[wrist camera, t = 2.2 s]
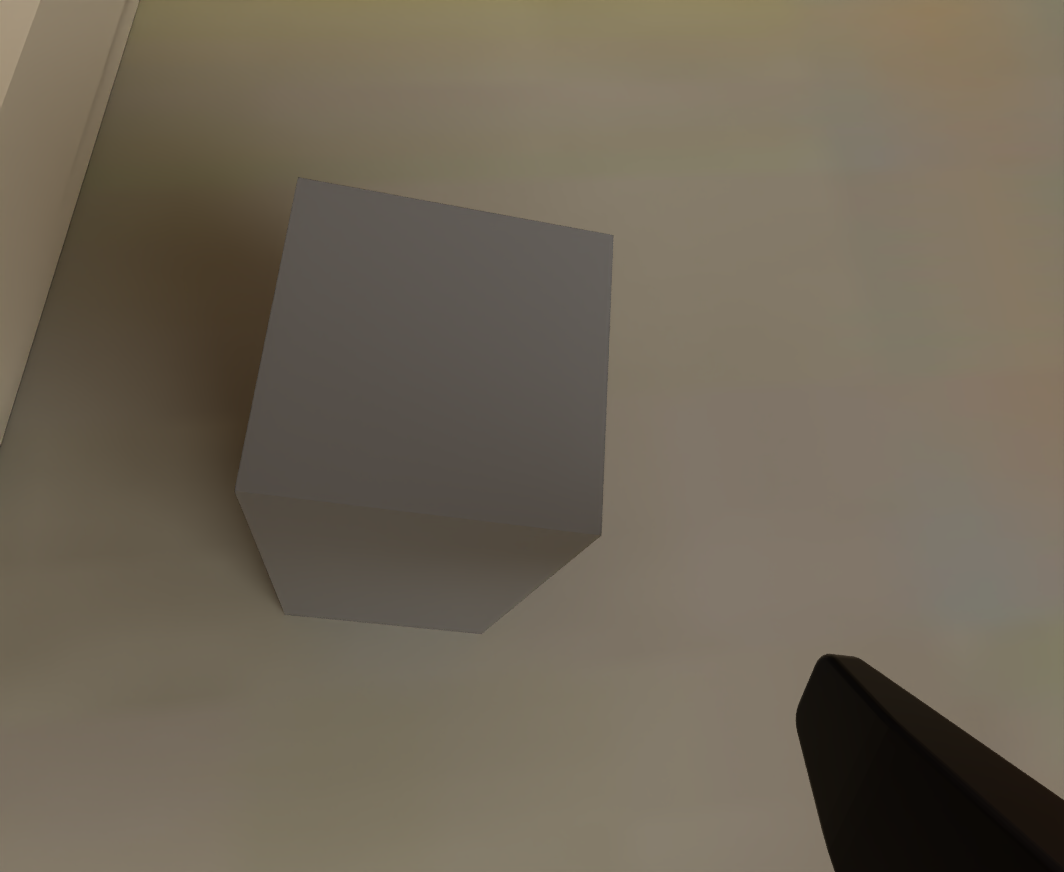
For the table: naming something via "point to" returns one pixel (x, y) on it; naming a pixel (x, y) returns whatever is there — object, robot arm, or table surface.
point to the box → (46, 149)
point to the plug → (426, 409)
